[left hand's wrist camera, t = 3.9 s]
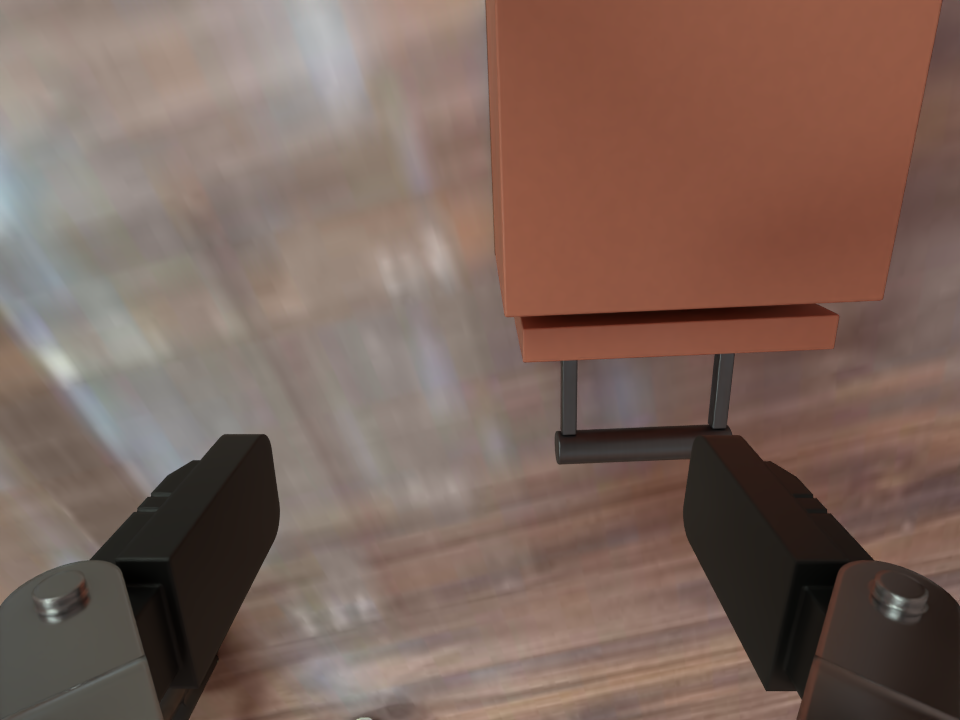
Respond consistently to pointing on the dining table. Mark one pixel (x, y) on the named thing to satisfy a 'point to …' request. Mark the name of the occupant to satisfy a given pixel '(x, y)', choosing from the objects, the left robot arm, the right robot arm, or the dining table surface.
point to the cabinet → (700, 149)
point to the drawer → (659, 338)
